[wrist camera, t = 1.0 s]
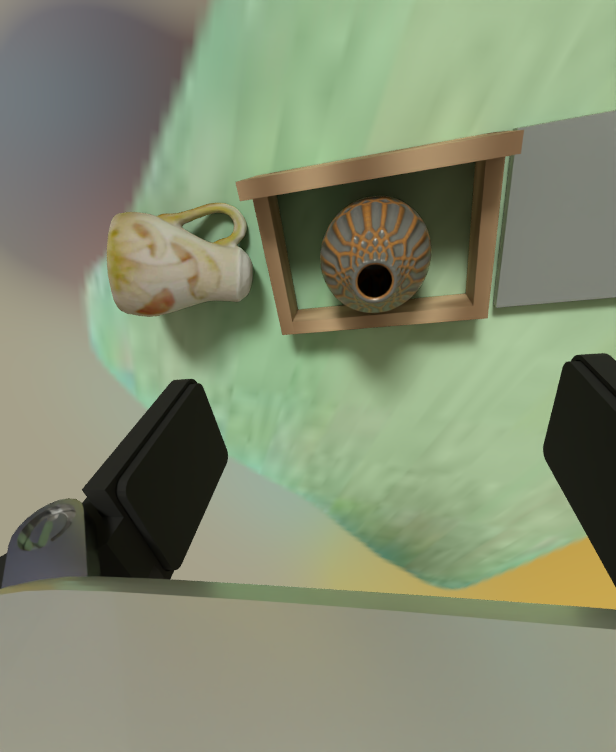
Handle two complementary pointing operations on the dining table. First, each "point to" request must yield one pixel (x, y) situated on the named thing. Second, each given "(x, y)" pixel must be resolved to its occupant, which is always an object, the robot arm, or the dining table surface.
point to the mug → (174, 262)
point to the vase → (375, 254)
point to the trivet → (560, 214)
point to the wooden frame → (477, 149)
